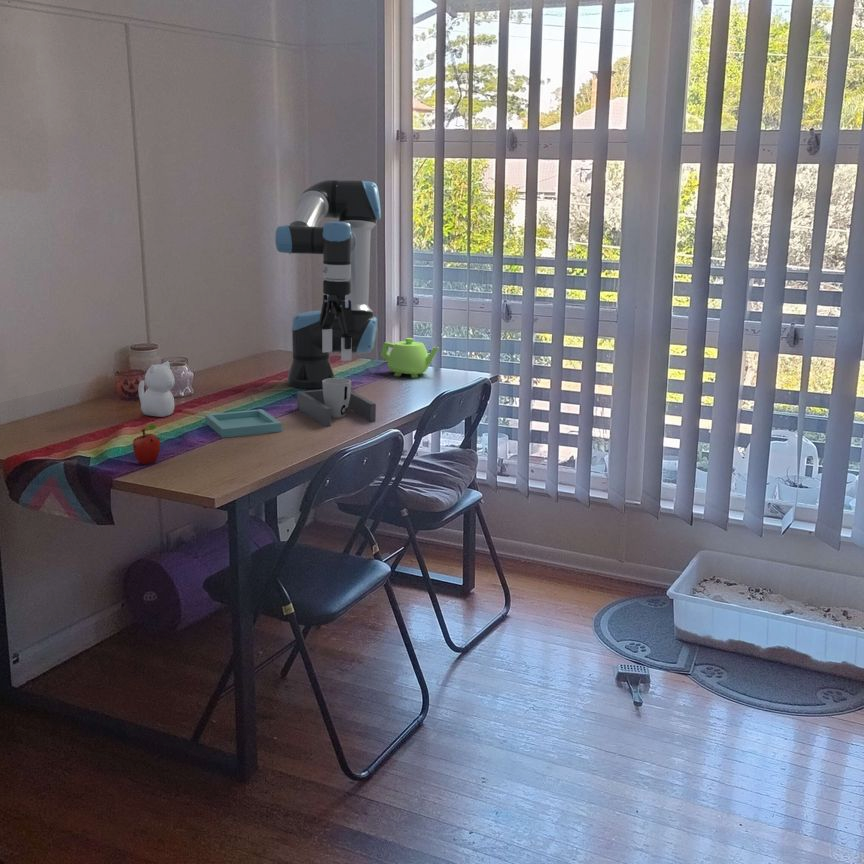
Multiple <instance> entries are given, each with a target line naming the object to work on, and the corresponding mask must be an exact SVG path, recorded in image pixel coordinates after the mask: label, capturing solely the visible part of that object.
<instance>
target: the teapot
mask: <svg viewBox="0 0 864 864" xmlns="http://www.w3.org/2000/svg"><path fill="white" fill-rule="evenodd" d="M390 348H391V351H390V353H389V349H390ZM439 349H440V348H439V347H438V346H433V347H432V349H431V351H430V353H428V350H427V348H426V346H425V344H424V343H423V342H420V341H414V338H413V337H405V338H404V340H401V341H397V342H396V343H394V342H388V341H385V342H383V345H382V349H381V353H380V357H381V358H382V359H384V360H385V361H386V362H387V368H388V369H389V371H391V373H392V372H393V373H394V374H393V377H401V376H402V374H405V375H410V378H412V379H418V378H419V375H424V373H426V372H427V370H428V369H429V367H430V365H431V364H432V361H433V359H434V358H435V356H436V354H437V352H438V351H439Z"/></svg>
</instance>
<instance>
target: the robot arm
mask: <svg viewBox="0 0 864 864" xmlns="http://www.w3.org/2000/svg"><path fill="white" fill-rule="evenodd" d="M381 214H382V211H381V202H380V193H379V188H378V185H377V184H376V183H375V182H373V181H366V180H338V179H337V180H336V179H335V180H334V179H327V180H322V181H320V182H317V183H315V184H313V185H311V186H309V187H308V188H306V189H305V190H304V191H302V193H301V195H300V196H299V198H298V201H297V210H296V212H295V214H294V215H293V217H292V219H291V221H290V223H289V225H288V224H287V225H278V226H277V227H276V229H275V235H274V236H275V239H274V241H275V248H276V250H277V251H278V252H279V253H281V254H282V253H285V254H289V255H291V254H297V255H298V254H303V255H304V254H306V255H307V254H308V255H310V254H312V255H313V254H314V255H322V257H323V262H322V263H323V264H322V265H323V267H322V268H321V271H322V272H323V273H322V275H323V276H322V278H323V279H324V280H323V282H322V292H323V296H322V297H323V298H322V306H321V310H311V311H310V310H309V311H304V312H300V313H297V314H296V315H294V316H293V318H292V326H291V327H292V328H291V331H292V332H291V333H292V339H291V340H292V361H291V365H290V368H289V371H288V374H287V383H288V384H287V385H288V386H290V387H293V388H297V387H299V388H300V389H323V385H322V380H324V379H329V378H336V377H335V374H334V371H333V367H332V364H331V362H330V353H336V354H341V357H340V358H341V359H340V361H341V362H347V361H348V362H349V361H352V359H353V358H352V355H353V354H356V355H358V354H369V353H372V351H373V349H374V345H375V343H376V342H375V341H376V337H377V331H378V318H377V317H376V316H374V311H373V310H372V309H371V308H370V306H369V298H370V297H369V296H370V271H371V270H370V269H371V268H370V266H371V265H370V264H371V233H372V230H373V229H374V228H375V227H376V225H377V221H378V220H381V218H382V217H381V216H382V215H381ZM324 218H325V219H327V218H330V219H338V221H326V222H324V224H323V226H319V224H320V222H321V220H323V219H324ZM299 388H298V389H299Z"/></svg>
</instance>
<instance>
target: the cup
mask: <svg viewBox="0 0 864 864" xmlns="http://www.w3.org/2000/svg"><path fill="white" fill-rule="evenodd" d="M322 385H323V388H322V389H323V397H324V403H325V405H326V406H328V407H329V408H331V418H333V419H334V418H338V419H339V418H344V417H346V415H347V414H348V413H347V412H348V410H349V409H348V406H349V400H350V392H351V391H352V390H351V389H352V380H350V379H349V378H343V377H342V378H341V377H335V378H329V379H324V380H322Z"/></svg>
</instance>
